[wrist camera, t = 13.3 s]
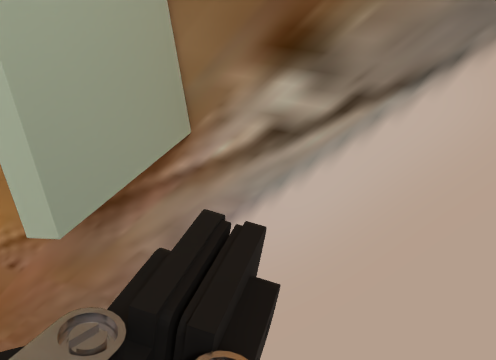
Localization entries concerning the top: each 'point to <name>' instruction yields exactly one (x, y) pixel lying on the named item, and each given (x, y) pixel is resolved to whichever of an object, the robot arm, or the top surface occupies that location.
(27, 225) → the door
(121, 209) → the top surface
